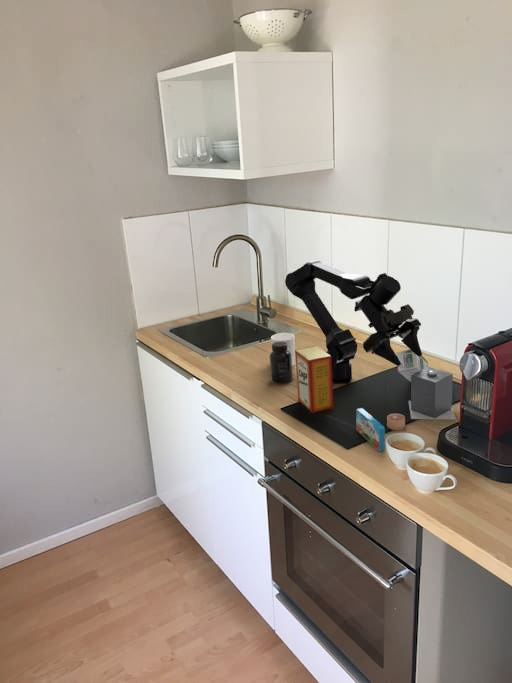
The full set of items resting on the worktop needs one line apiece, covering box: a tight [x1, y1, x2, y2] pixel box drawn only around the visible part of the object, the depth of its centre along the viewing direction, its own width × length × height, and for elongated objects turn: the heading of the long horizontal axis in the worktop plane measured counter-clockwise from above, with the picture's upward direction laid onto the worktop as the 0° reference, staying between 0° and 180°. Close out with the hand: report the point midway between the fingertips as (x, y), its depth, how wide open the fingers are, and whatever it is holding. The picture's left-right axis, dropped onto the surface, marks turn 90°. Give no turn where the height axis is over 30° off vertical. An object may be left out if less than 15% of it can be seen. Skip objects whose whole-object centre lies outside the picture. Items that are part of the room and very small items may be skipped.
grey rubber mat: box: [408, 400, 457, 420], centre depth 152 cm, size 11×11×1 cm
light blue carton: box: [355, 407, 386, 452], centre depth 140 cm, size 12×2×6 cm, turn 17°
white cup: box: [270, 332, 296, 367], centre depth 192 cm, size 8×8×10 cm
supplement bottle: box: [269, 342, 294, 384], centre depth 179 cm, size 7×7×12 cm
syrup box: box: [395, 349, 429, 383], centre depth 165 cm, size 6×6×14 cm
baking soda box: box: [295, 345, 334, 413], centre depth 160 cm, size 10×6×16 cm
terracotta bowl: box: [386, 413, 406, 431], centre depth 145 cm, size 4×4×3 cm
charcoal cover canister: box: [410, 366, 454, 418], centre depth 151 cm, size 7×7×11 cm
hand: (410, 360), depth 153 cm, fingers open, 9 cm apart
